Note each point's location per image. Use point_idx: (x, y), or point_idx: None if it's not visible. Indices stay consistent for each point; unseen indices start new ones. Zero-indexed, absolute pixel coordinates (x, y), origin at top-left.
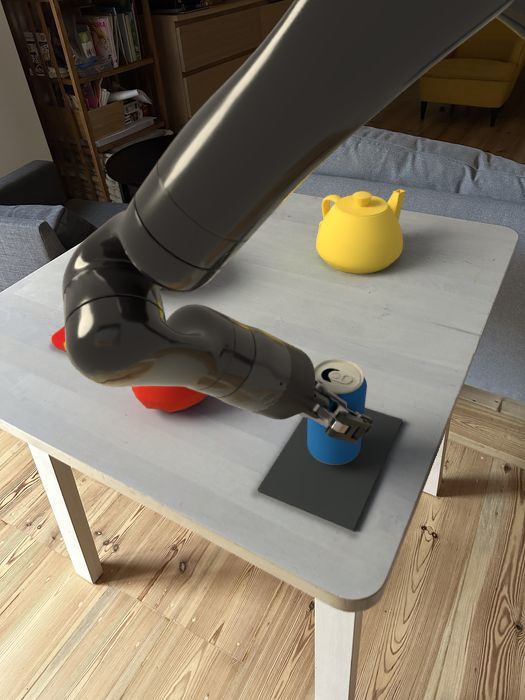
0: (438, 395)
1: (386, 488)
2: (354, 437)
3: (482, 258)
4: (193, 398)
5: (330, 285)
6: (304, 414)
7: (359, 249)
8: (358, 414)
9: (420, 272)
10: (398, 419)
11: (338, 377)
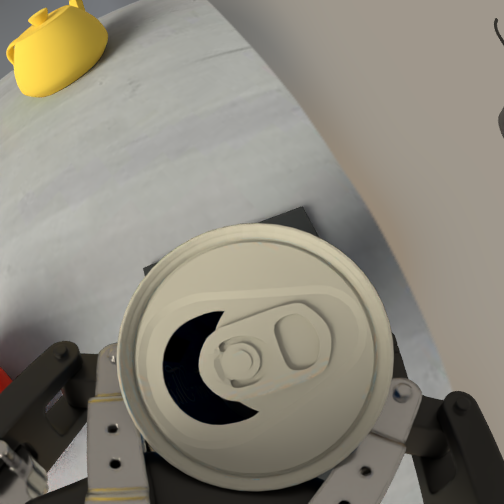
0: (297, 132)
1: None
2: (447, 453)
3: (184, 3)
4: None
5: (55, 110)
6: None
7: (62, 54)
8: (412, 392)
9: (138, 37)
10: (297, 211)
11: (257, 359)
